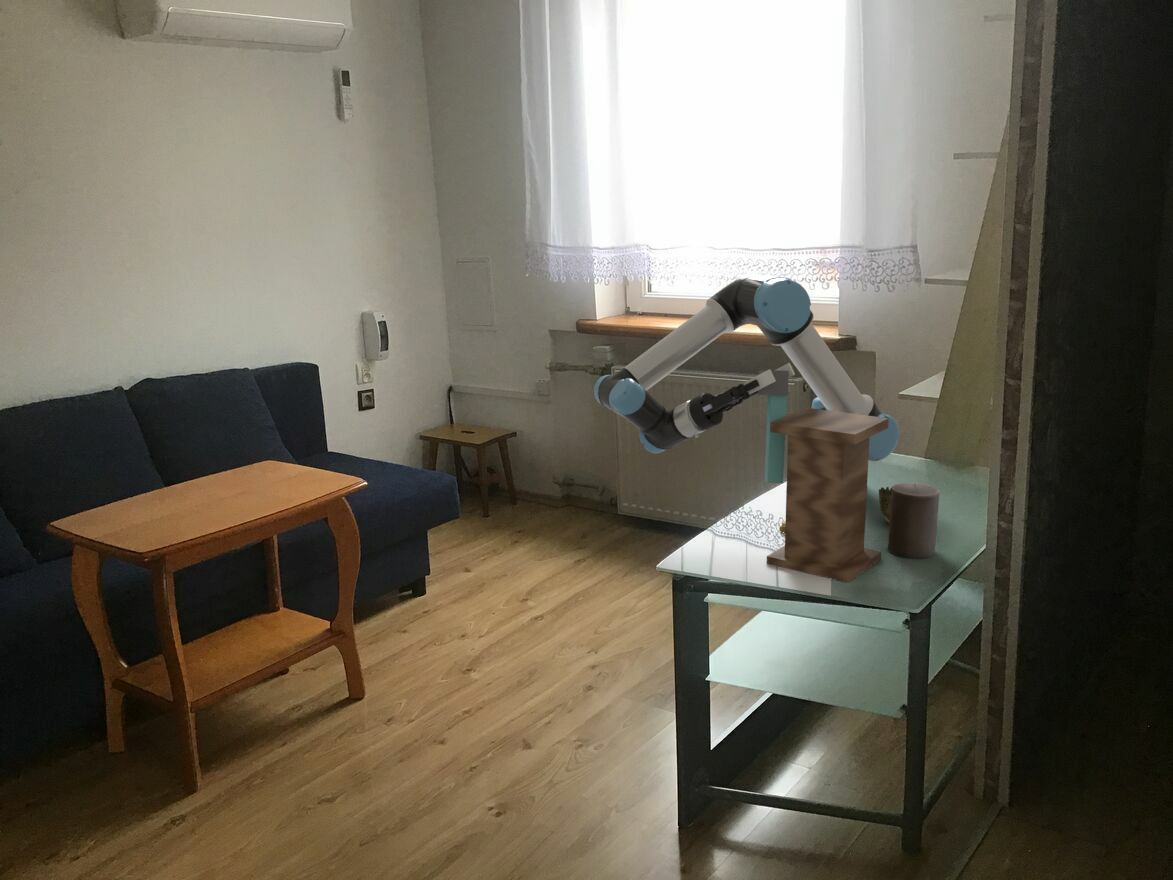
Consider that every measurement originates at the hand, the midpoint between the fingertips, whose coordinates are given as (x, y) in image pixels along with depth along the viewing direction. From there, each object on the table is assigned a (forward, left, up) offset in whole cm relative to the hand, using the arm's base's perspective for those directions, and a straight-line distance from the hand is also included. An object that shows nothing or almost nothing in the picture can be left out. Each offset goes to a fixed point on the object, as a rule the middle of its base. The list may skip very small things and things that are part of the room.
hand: (781, 372), depth 215 cm
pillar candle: (+10, +27, -39) cm, 48 cm away
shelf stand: (+9, +6, -39) cm, 40 cm away
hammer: (+1, 0, -11) cm, 11 cm away
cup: (-6, +33, -39) cm, 51 cm away
